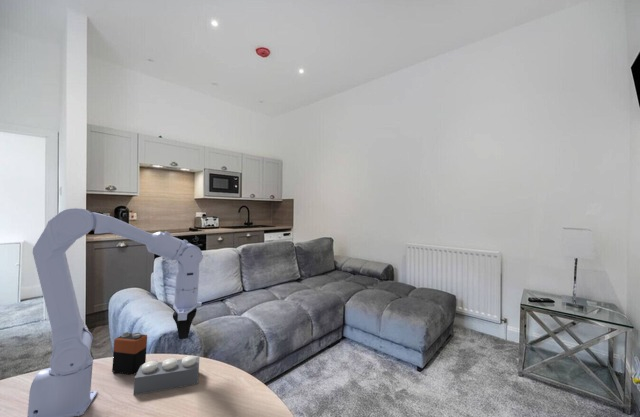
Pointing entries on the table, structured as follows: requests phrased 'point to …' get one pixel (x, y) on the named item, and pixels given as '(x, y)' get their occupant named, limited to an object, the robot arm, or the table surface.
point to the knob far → (188, 361)
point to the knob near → (149, 366)
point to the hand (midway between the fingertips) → (183, 337)
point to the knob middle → (169, 364)
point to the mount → (166, 378)
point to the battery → (129, 353)
